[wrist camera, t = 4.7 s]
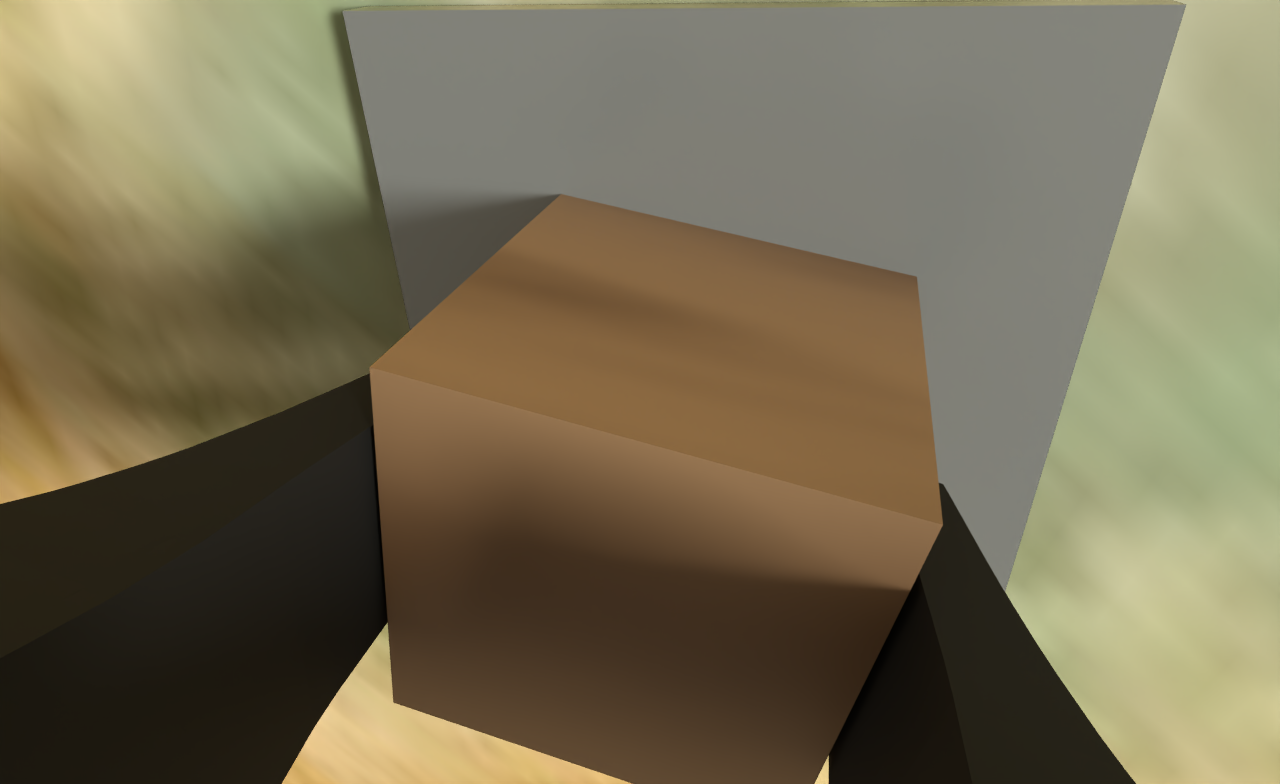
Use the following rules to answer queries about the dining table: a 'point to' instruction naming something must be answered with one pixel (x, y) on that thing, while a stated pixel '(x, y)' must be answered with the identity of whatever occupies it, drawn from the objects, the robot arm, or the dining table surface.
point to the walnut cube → (654, 495)
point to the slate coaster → (801, 166)
